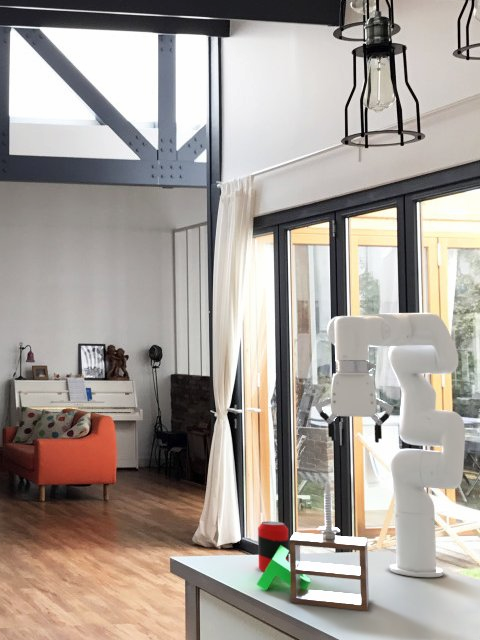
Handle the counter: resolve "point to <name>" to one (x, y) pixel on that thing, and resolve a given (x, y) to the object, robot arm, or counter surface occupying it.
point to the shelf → (328, 572)
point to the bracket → (280, 571)
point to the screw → (328, 516)
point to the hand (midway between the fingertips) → (355, 441)
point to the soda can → (271, 541)
